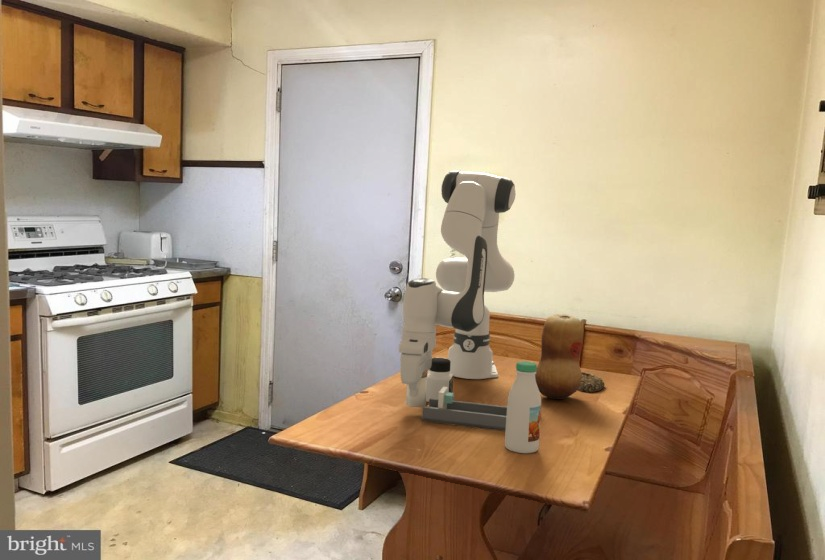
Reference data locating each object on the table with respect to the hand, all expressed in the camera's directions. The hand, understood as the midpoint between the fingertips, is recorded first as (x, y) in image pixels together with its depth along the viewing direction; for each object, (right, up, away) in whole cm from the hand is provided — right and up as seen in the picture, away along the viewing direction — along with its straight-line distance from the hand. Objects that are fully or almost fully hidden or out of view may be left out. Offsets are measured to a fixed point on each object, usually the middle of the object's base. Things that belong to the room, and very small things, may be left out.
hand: (416, 392), depth 169 cm
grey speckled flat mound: (+53, -5, +37) cm, 65 cm away
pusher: (+8, -5, -2) cm, 9 cm away
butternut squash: (+42, -6, +22) cm, 48 cm away
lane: (+14, -7, -3) cm, 16 cm away
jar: (0, -3, 0) cm, 3 cm away
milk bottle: (+24, -9, -21) cm, 33 cm away
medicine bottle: (+6, -5, +15) cm, 17 cm away
